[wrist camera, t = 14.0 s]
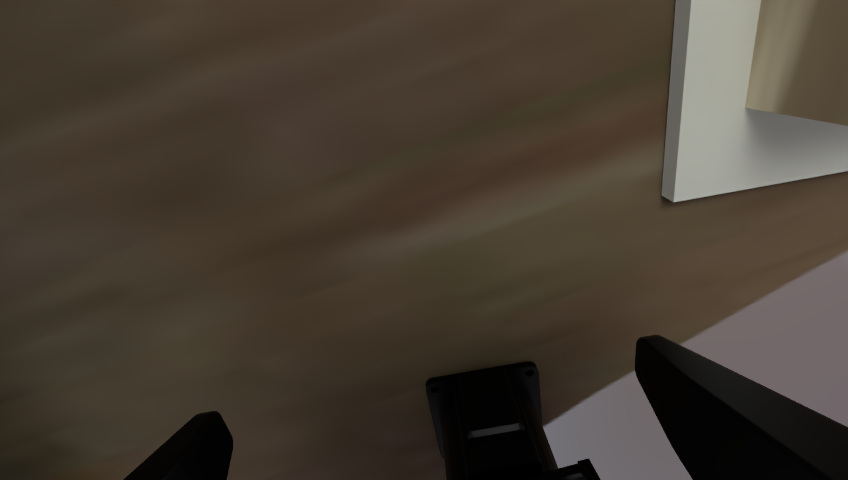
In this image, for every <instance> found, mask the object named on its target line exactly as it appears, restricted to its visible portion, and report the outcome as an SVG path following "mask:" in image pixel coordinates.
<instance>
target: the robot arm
mask: <svg viewBox="0 0 848 480" xmlns="http://www.w3.org/2000/svg"><path fill="white" fill-rule="evenodd" d="M527 370H531V371H528V372H526V371H527ZM635 372H636V376H637V378H638V380H639V382H640V384H641V386H642V388H643V390H644V392H645V394H646V396H647V398H648V400H649V402H650V404H651V406H652V408H653V410H654V412H655V414H656V416H657V418H658V420H659V422H660V424H661V426H662V428H663V430H664V432H665V434H666V436H667V438H668V440H669V441H670V443H671V445H672V447H673V449H674V450H675V452H676V454H677V455H678V457H679V459H680V460H681V462H682V463H683V465H684V467H685V468H686V470H687V471H688V472H689V474H690V476H691V477H692V479H693V480H848V427H846V426H844V425H842V424H840V423H838V422H836V421H834V420H832V419H830V418H828V417H826V416H824V415H822V414H820V413H818V412H816V411H814V410H812V409H809V408H808V407H805V406H803V405H801V404H799V403H797V402H795V401H793V400H791V399H789V398H787V397H785V396H783V395H781V394H779V393H777V392H775V391H773V390H771V389H769V388H767V387H765V386H763V385H761V384H758V383H756V382H754V381H752V380H750V379H748V378H746V377H744V376H742V375H740V374H738V373H736V372H734V371H732V370H730V369H728V368H726V367H724V366H722V365H720V364H718V363H716V362H714V361H711V360H709V359H707V358H705V357H703V356H701V355H699V354H697V353H695V352H693V351H691V350H689V349H687V348H685V347H683V346H681V345H679V344H677V343H675V342H673V341H671V340H669V339H667V338H665V337H662V336H660V335H651V336H645V337H640V338H639V339H638V340H637V343H636V356H635ZM433 386H437V387H436V388H432V387H433ZM426 392H427V396H428V401H429V405H430V409H431V414H432V418H433V423H434V427H435V431H436V436H437V440H438V445H439V449H440V453H441V456H442V458H444V459H445V468H446V477H447V480H600V478H599V476H598V475H597V473H596V471H595V469H594V467H593V465H592V464H591V462H590V460H589V459H585V460H581V461H578V464H574V465H570V466H567V467H563V468H559V469H558V466H557V464H556V461H555V459H554V456H553V453H552V451H551V448H550V445H549V443H548V440H547V438H546V435H545V432H544V429H543V427H542V415H541V402H540V388H539V374H538V369H537V367H536V365H535V364H534V363H533V362H522V363H517V364H511V365H505V366H499V367H493V368H488V369H482V370H476V371H470V372H465V373H459V374H453V375H447V376H441V377H436V378H431V379H429V380H428V381H427V382H426ZM232 451H233V438H232V435H231V433H230V431H229V430H228V428H227V426H226V424H225V422H224V420H223V418H222V416H221V415H220V413H218V412H217V411H211V412H205V413H200V414H197V415H195V416H194V417H193V418H192V419H191V420H190V421H188V422H187V423H186V424H185V425H184V426H183V427H182V428H181V429H179V430H178V431H177V432H176V433H175V434H174V435H173V436H172V437H171V438H169V439H168V440H167V441H166V442H165V443H164V444H163V445H162V446H160V447H159V448H158V449H157V450H156V451H155V452H154V453H153V454H152V455H150V456H149V457H148V458H147V459H146V460H145V461H144V462H143V463H141V464H140V465H139V466H138V467H137V468H136V469H135V470H134V471H133V472H131V473H130V474H129V475H128V476H127V477H126V478H125V479H124V480H227V475H228V470H229V466H230V461H231V456H232Z"/></svg>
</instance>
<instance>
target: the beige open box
mask: <svg viewBox="0 0 848 480" xmlns="http://www.w3.org/2000/svg"><path fill="white" fill-rule="evenodd" d="M745 108H749V109H755V110H761V111H766V112H772V113H778V114H783V115H789V116H795V117H800V118H806V119H812V120H817V121H823V122H829V123H834V124H840V125H846V126H848V0H761V4H760V11H759V18H758V24H757V31H756V38H755V44H754V51H753V58H752V64H751V71H750V78H749V84H748V91H747V98H746V104H745Z"/></svg>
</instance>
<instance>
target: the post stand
mask: <svg viewBox="0 0 848 480" xmlns="http://www.w3.org/2000/svg"><path fill="white" fill-rule="evenodd" d="M760 4H761V0H676V5H675V18H674V32H673V45H672V59H671V72H670V86H669V99H668V113H667V126H666V140H665V153H664V167H663V180H662V194H661V196H663V197H665V198H667V199H669V200H670V201H672V202H679V201H684V200H690V199H695V198H701V197H706V196H712V195H717V194H723V193H728V192H734V191H740V190H745V189H751V188H756V187H762V186H767V185H773V184H778V183H784V182H789V181H795V180H801V179H806V178H812V177H817V176H823V175H828V174H834V173H839V172H845V171H848V126H846V125H840V124H834V123H829V122H823V121H817V120H812V119H806V118H800V117H795V116H789V115H783V114H778V113H772V112H766V111H761V110H755V109H749V108H745V104H746V98H747V91H748V84H749V78H750V71H751V64H752V58H753V51H754V44H755V38H756V31H757V24H758V18H759V11H760Z"/></svg>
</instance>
